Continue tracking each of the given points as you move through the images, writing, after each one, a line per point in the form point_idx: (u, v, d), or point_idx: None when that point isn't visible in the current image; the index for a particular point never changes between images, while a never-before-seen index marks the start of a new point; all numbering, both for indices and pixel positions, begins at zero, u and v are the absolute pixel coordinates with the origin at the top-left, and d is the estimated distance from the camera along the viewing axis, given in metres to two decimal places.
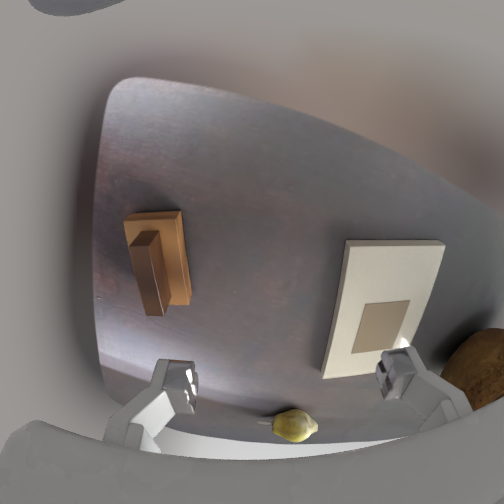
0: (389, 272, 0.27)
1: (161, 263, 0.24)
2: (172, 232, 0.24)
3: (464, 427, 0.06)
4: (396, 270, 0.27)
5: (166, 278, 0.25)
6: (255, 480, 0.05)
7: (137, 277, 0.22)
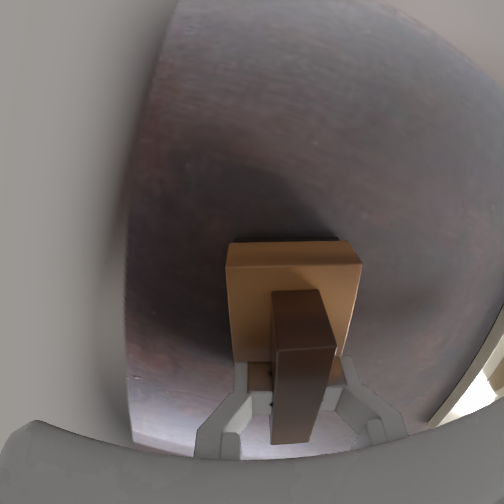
0: None
1: None
2: (347, 291, 0.10)
3: (464, 427, 0.06)
4: None
5: None
6: (255, 480, 0.05)
7: (279, 403, 0.09)
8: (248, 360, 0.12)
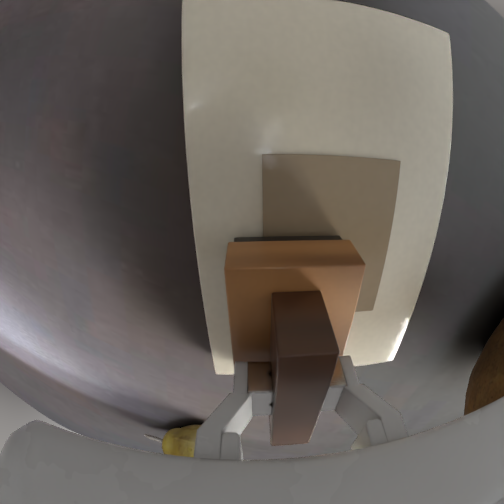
0: (312, 58, 0.09)
1: None
2: (350, 292, 0.10)
3: (464, 427, 0.06)
4: (333, 56, 0.09)
5: None
6: (255, 480, 0.05)
7: (279, 406, 0.09)
8: (248, 361, 0.12)
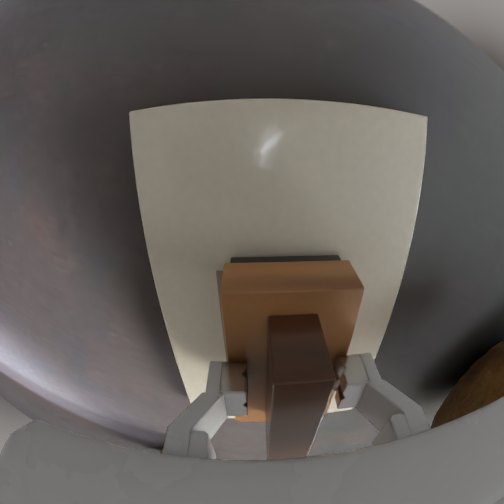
0: (262, 177, 0.10)
1: None
2: (348, 315, 0.10)
3: (464, 427, 0.06)
4: (284, 173, 0.10)
5: None
6: (255, 480, 0.05)
7: (275, 428, 0.08)
8: None
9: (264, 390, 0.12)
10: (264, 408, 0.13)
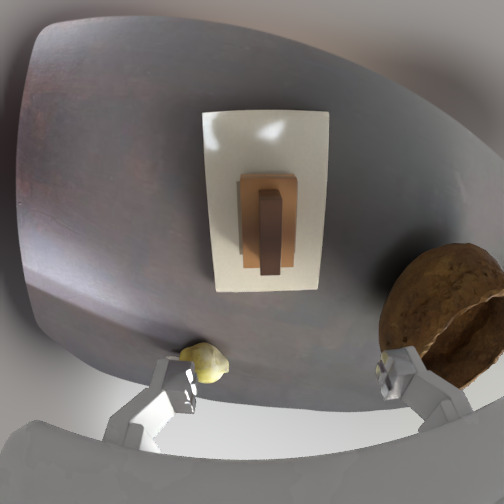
0: (256, 140, 0.25)
1: None
2: (292, 191, 0.25)
3: (464, 427, 0.06)
4: (265, 138, 0.25)
5: None
6: (255, 480, 0.05)
7: (262, 233, 0.23)
8: (249, 230, 0.26)
9: (258, 238, 0.27)
10: (258, 254, 0.27)
